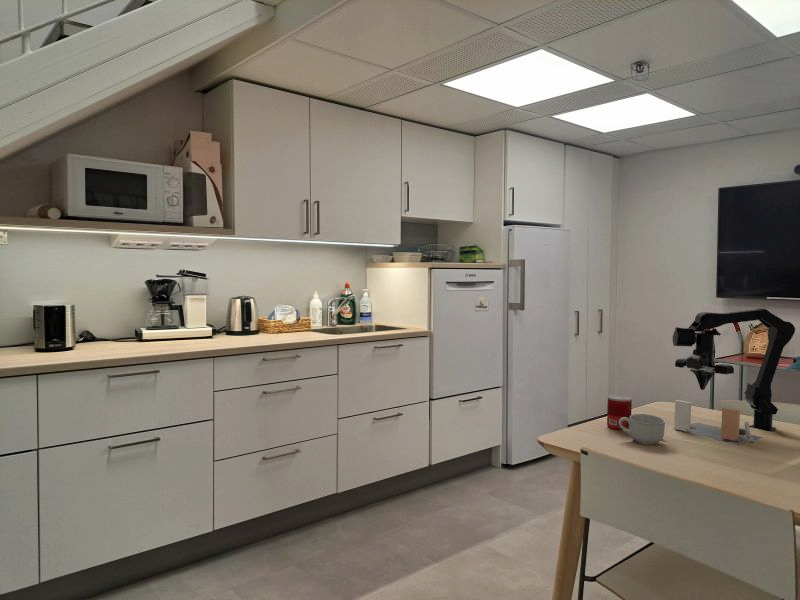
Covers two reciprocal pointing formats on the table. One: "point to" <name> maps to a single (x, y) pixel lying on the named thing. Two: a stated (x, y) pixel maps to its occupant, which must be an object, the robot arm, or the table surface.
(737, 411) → the tan rectangular block
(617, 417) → the canned food
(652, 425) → the teacup
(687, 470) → the table surface
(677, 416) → the cream paddle
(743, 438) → the panel
